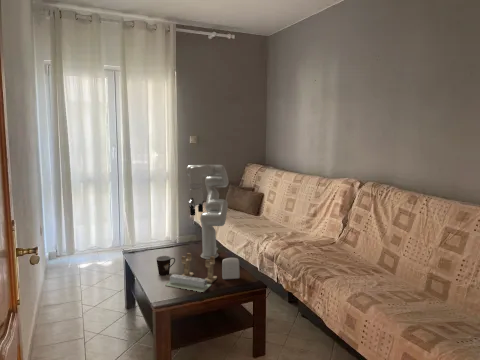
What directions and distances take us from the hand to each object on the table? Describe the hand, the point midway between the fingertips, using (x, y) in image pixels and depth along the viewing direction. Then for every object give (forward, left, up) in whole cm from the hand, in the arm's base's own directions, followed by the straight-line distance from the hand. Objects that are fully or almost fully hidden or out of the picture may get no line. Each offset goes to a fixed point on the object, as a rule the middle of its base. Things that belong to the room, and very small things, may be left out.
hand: (196, 213), depth 223 cm
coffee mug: (+13, -15, -36) cm, 42 cm away
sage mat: (+24, +7, -36) cm, 44 cm away
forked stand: (+12, +7, -36) cm, 39 cm away
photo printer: (+5, +25, -36) cm, 45 cm away
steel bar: (+24, +7, -36) cm, 44 cm away
